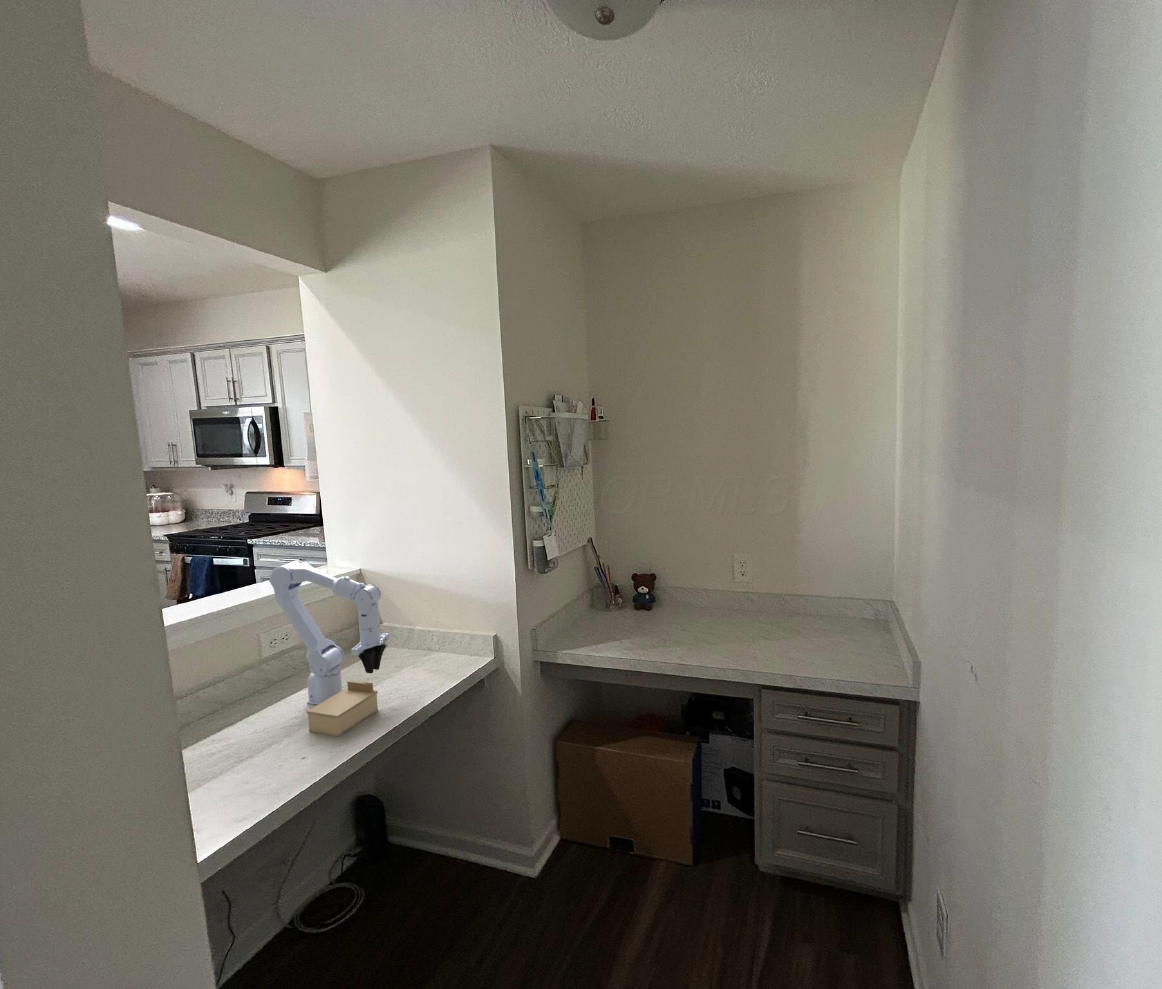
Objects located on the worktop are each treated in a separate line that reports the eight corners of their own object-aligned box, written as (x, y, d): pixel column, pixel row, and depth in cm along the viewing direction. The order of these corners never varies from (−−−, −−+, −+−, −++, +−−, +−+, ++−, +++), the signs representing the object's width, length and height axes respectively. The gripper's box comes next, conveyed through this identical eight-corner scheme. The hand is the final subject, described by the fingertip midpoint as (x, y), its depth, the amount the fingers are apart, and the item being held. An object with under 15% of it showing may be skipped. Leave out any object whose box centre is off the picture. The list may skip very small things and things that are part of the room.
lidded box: (349, 706, 185) (348, 689, 185) (377, 710, 182) (376, 693, 181) (309, 731, 170) (307, 713, 170) (339, 736, 167) (337, 718, 166)
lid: (348, 688, 185) (347, 679, 185) (377, 692, 181) (376, 683, 181) (306, 713, 170) (305, 702, 169) (337, 718, 166) (336, 707, 166)
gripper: (364, 635, 178) (367, 681, 179) (395, 620, 191) (398, 663, 193) (344, 633, 180) (347, 679, 182) (376, 618, 194) (379, 661, 195)
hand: (372, 670), depth 187 cm, fingers closed
